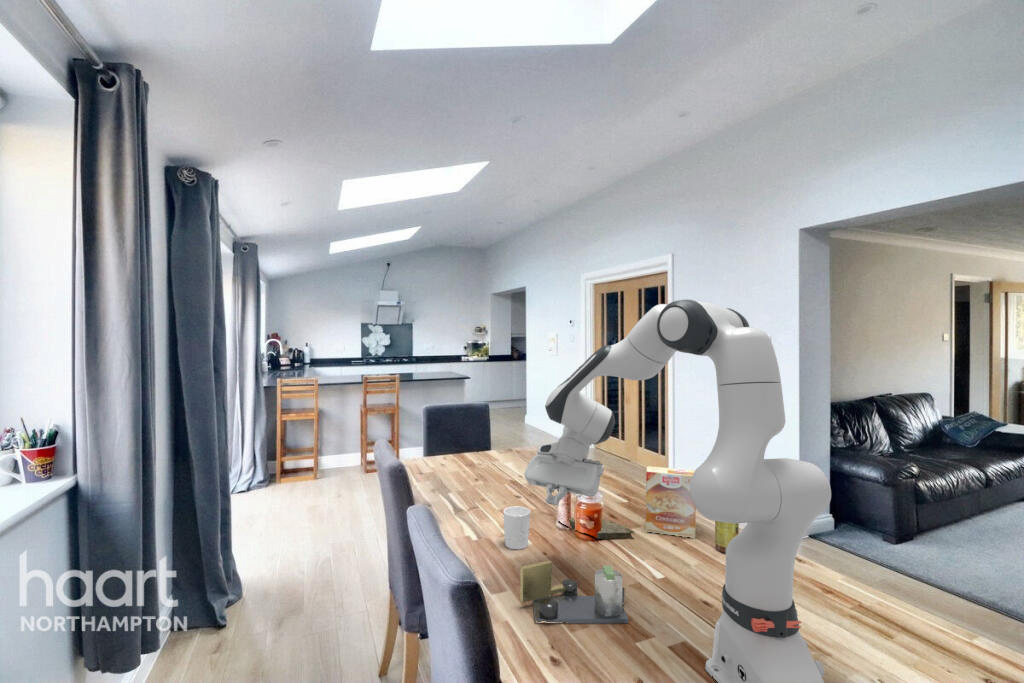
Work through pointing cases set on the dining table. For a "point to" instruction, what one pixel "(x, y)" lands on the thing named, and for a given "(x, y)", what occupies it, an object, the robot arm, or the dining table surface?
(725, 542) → the sauce bottle
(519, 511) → the white cup
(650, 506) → the coffeecake box
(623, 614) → the base
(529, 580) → the olive upright panel
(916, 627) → the dining table surface
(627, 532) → the stone slab
